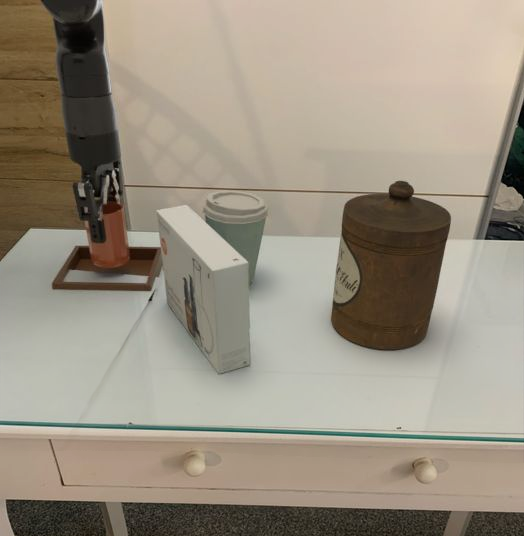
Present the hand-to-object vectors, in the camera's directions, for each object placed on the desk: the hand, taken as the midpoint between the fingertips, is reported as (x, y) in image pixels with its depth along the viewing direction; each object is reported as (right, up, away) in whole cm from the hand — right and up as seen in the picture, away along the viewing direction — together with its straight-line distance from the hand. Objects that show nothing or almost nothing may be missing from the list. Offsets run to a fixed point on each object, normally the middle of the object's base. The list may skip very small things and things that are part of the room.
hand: (106, 233), depth 91 cm
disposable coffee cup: (+21, -7, +6) cm, 23 cm away
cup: (0, -4, +3) cm, 5 cm away
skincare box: (+17, -17, -8) cm, 25 cm away
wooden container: (+43, -15, -5) cm, 46 cm away
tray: (0, -7, +5) cm, 8 cm away
